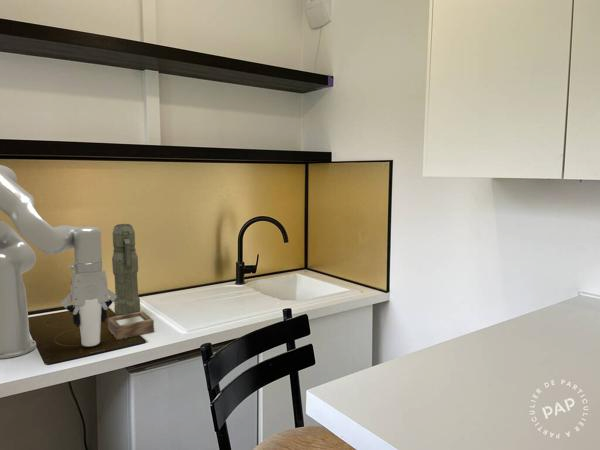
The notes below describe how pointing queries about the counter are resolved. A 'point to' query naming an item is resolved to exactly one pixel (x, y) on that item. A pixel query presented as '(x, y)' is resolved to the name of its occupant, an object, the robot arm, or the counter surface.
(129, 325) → the wooden tray
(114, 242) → the stone statue
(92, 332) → the drinking glass
